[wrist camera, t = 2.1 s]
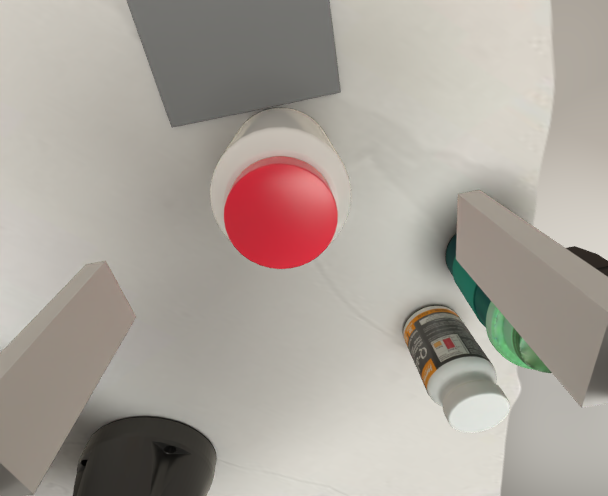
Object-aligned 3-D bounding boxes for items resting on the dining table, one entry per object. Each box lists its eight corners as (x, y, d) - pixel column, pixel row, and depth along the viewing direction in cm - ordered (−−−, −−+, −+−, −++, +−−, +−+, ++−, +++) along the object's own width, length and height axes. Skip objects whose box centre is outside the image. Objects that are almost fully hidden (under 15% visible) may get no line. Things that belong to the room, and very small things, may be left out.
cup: (429, 286, 33) (500, 394, 22) (426, 207, 29) (509, 292, 18) (517, 269, 32) (631, 371, 22) (525, 186, 28) (669, 260, 18)
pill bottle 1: (353, 165, 27) (392, 224, 17) (280, 227, 29) (278, 311, 19) (284, 82, 24) (285, 97, 14) (208, 158, 26) (164, 216, 16)
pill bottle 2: (394, 316, 34) (432, 404, 25) (451, 294, 33) (511, 378, 24) (411, 354, 37) (451, 446, 28) (464, 334, 36) (522, 423, 27)
